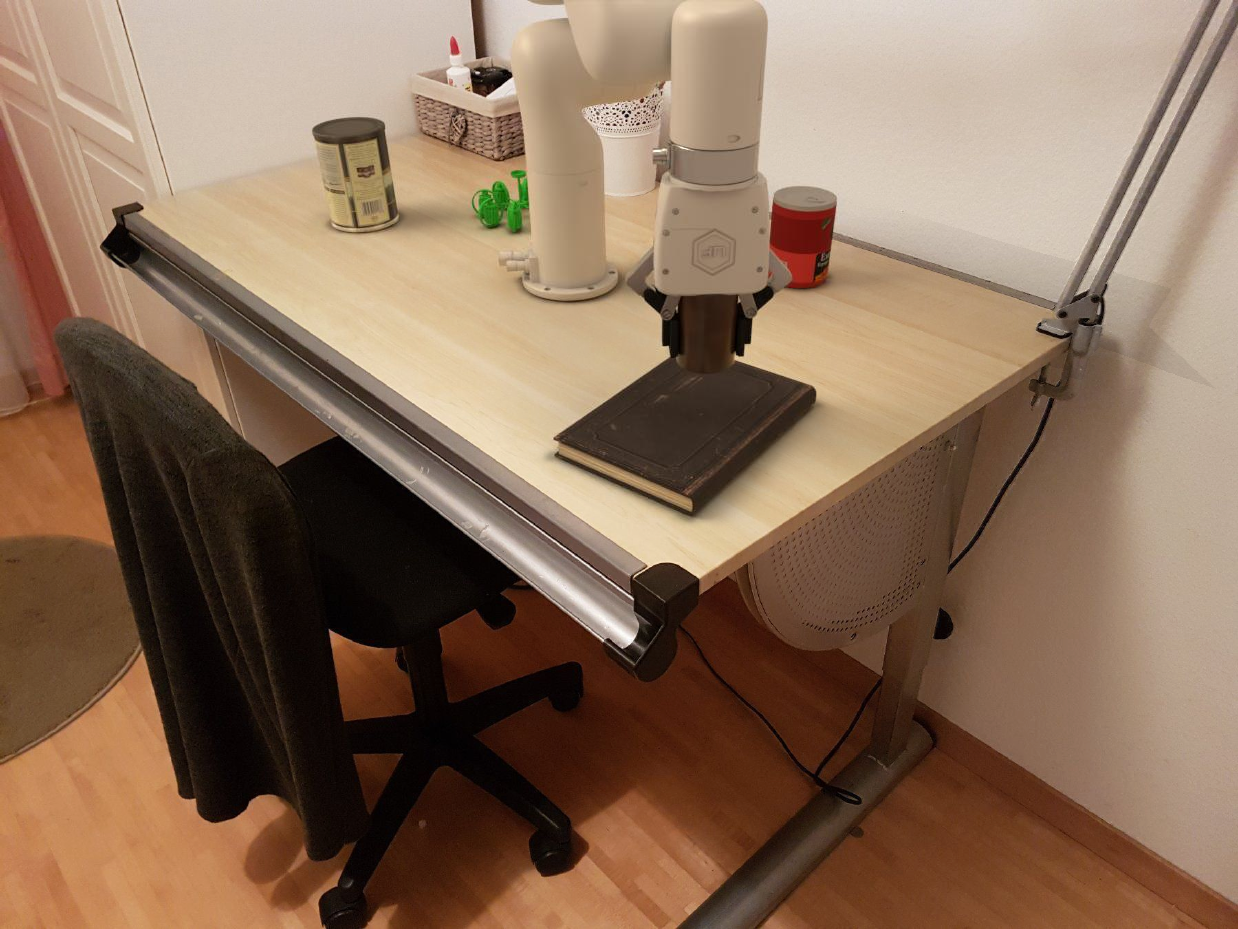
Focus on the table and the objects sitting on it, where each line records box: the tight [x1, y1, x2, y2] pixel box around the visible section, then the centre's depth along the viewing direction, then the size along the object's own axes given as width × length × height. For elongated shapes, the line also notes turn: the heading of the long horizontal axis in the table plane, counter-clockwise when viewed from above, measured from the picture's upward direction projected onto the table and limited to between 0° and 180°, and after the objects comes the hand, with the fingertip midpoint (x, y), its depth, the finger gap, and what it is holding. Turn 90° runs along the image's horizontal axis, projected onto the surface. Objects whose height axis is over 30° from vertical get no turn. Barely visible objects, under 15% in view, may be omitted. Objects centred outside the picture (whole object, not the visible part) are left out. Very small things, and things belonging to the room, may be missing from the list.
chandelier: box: [471, 169, 529, 233], centre depth 139 cm, size 15×15×7 cm
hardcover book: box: [552, 356, 817, 516], centre depth 91 cm, size 16×23×2 cm
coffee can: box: [311, 116, 400, 233], centre depth 137 cm, size 10×10×14 cm
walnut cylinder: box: [676, 294, 739, 374], centre depth 86 cm, size 6×6×8 cm
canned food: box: [768, 185, 838, 289], centre depth 119 cm, size 8×8×11 cm
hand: (705, 349), depth 88 cm, fingers closed on walnut cylinder, 5 cm apart
